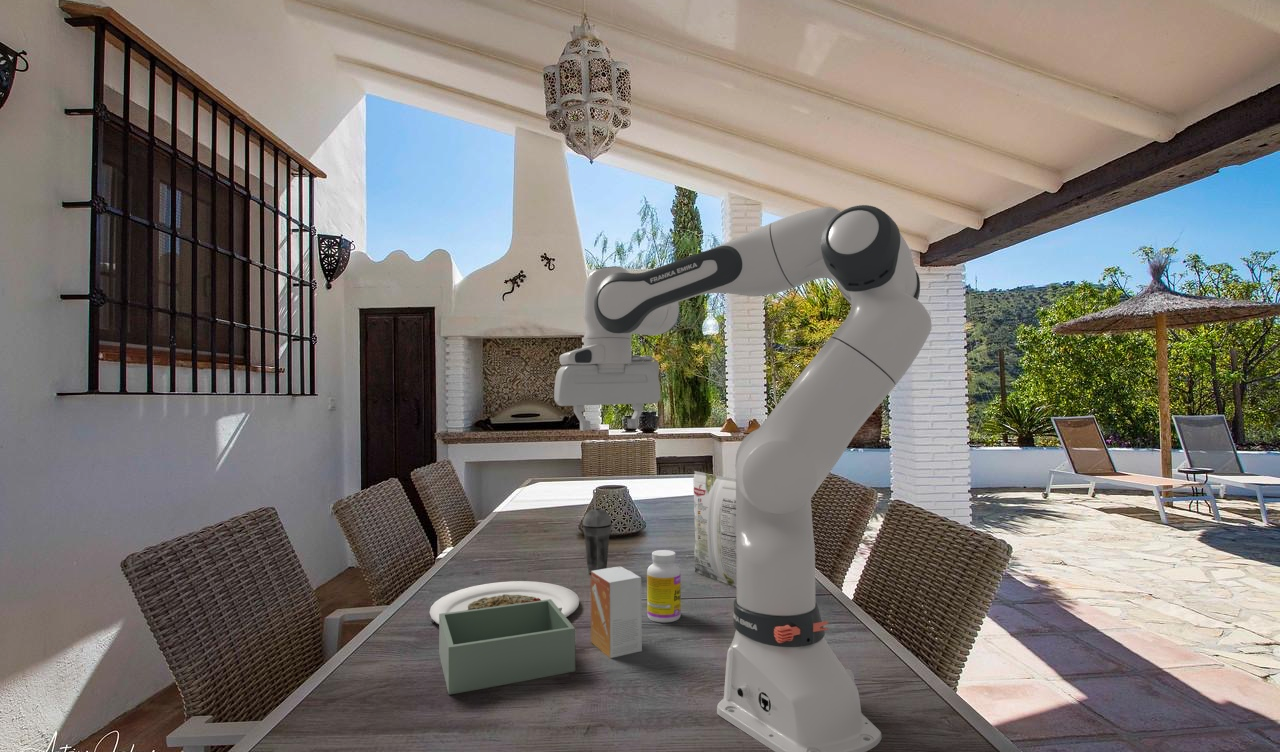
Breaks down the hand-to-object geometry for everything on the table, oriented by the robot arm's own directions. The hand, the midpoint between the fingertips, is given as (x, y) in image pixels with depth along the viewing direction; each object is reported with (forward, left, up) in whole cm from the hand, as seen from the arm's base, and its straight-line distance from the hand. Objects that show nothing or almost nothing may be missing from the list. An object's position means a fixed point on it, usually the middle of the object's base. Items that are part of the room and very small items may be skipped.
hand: (609, 429), depth 121 cm
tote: (-5, +20, -38) cm, 43 cm away
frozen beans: (+20, -35, -38) cm, 55 cm away
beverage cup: (+40, -11, -38) cm, 56 cm away
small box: (-7, +1, -38) cm, 39 cm away
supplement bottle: (+4, -13, -38) cm, 40 cm away
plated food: (+21, +15, -39) cm, 46 cm away
